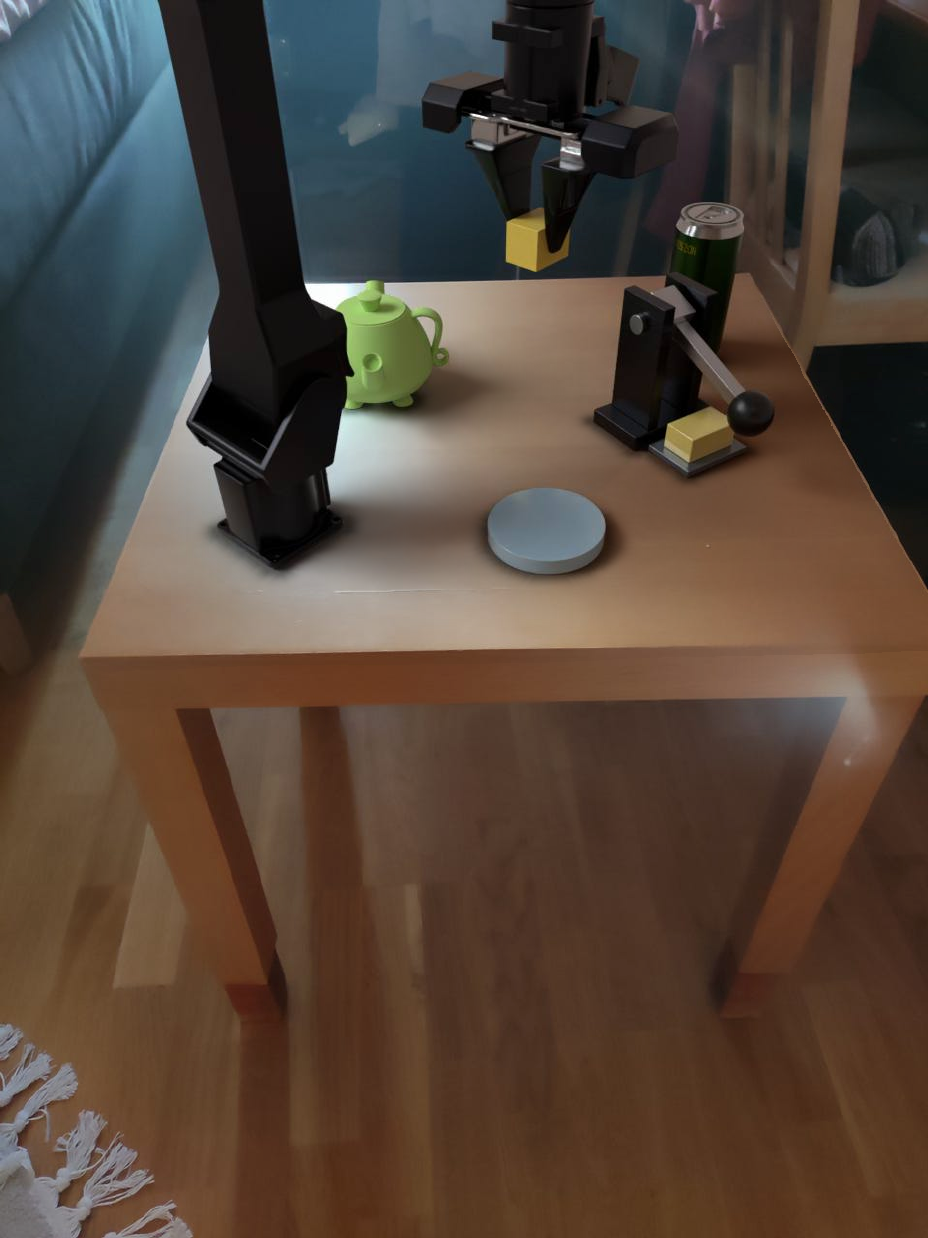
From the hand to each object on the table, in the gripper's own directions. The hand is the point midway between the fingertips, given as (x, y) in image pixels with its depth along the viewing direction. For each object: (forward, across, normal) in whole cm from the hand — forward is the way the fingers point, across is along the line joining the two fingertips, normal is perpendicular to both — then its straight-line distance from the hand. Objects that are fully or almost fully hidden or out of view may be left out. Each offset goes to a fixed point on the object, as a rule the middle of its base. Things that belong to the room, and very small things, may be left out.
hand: (537, 245), depth 68 cm
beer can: (+12, -7, -13) cm, 19 cm away
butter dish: (+12, -16, 0) cm, 20 cm away
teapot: (+12, +10, +10) cm, 18 cm away
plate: (+12, -14, +15) cm, 24 cm away
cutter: (+12, -11, -2) cm, 16 cm away
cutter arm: (+6, -15, 0) cm, 16 cm away
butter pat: (+1, 0, 0) cm, 1 cm away
